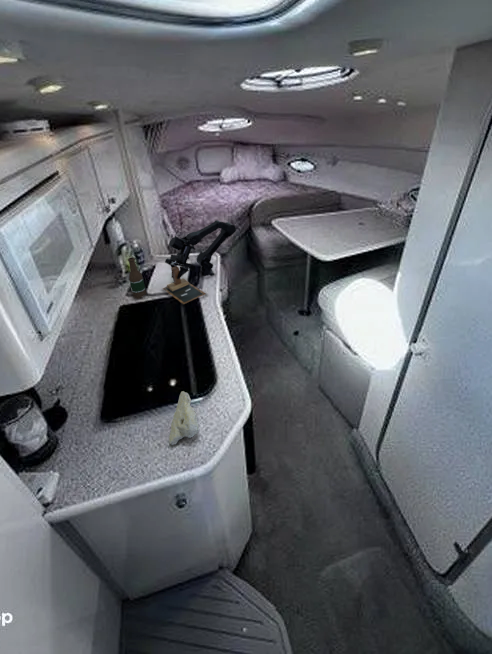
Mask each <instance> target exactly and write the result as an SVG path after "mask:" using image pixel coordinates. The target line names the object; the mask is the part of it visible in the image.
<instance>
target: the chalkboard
mask: <svg viewBox="0 0 492 654" xmlns="http://www.w3.org/2000/svg"><path fill="white" fill-rule="evenodd" d="M188 283H189V286H187V287H185V288H183V289H180V290H178V291H176V292H173V293H172V292H171V291H170V290H168V288H167V286H165V287H162V288H161V289H162V290H163V291H165V292H166V293H167V294H169V295H170V296H172V297H173V298H174V299H176V300H177V301H178V302H179V303H181V304H182V305H185V304H187V303H189V302H192V301H194V300H196V299H198V298H200V297H203V296H205V295H207V293H205V292H204V291H203V290H201V289H200V288H198V287H197V286H195V285H194V284H191V283H190V282H189V281H188ZM188 289H190V290H188ZM186 290H188V291H186ZM186 293H187V295H184V296H181V295H183V294H186Z"/></svg>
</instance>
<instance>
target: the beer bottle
mask: <svg viewBox="0 0 492 654" xmlns="http://www.w3.org/2000/svg"><path fill="white" fill-rule="evenodd" d="M127 262H128V265H129V270H130V271H129V273H128V280H129V286H130V288H131V293H132V296H133V298H134V299H136V300H141V299H143V297H145V295H147V290H146V285H145V282H144V277H143V273H142V272H141V271H140V270H139V269H138V267H137V264H136V259H135V257H129V258H127Z"/></svg>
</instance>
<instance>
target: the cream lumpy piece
mask: <svg viewBox="0 0 492 654" xmlns="http://www.w3.org/2000/svg"><path fill="white" fill-rule="evenodd" d="M191 403H192V399H191V397H190V394H189V393H188V392H185V391H184V390H183V391H181V392H180V394H179V397H178V402H177V405H176V408H175V412H174V413H173V418H172V420H171V424H170V432H169V436H168V442H169V445H171V446H173V445H176V444H177V443H178V442H179V441H180V440H181V439H183V438H185V437H186V438H189V439H191V438H193V437H194V436H196V435H197V434H198V433H199V429H200V427H199V422H198V416H197V415H198V414H197V413H196V412H195V411H196V410H195V408H194V407H192V406H191Z"/></svg>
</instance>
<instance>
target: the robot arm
mask: <svg viewBox="0 0 492 654" xmlns="http://www.w3.org/2000/svg"><path fill="white" fill-rule="evenodd" d="M219 229H220V232H219V234H218V235H217V236H216V237H215V239H214V240H213V241H212V242H211V244H210V245H209V246H208V247H207V249H206V250H205V251H199V253H198V254H197V255H196V259H195V261H196V263H197V264H198V265H199V266H201V267H200V273H201V276H202V277H208V276H210V277H212V276H214V275H215V273H214V272H213V267H214V264H213V263H212V262H211V261H212V257H213V256H214V255H215V253H216V251H217V250H218V249H219V248H220V247H221V245H222V244H223V243H224V242H225V241H226V239H227V238H229V237H231V236H232V235H234V234H235V233H236V231H237V228H236V225H234V224H233V223H231V222H229V221H220V220H218V219H217V220H214V221H213V222H212V223H210V224H208V225H206V226H205V227H203V228H201V229H199V230H197V231H192V232H189V233H187V234H186V235H185V236H183V237H181V238H180V237H179V236H177V235H174V237H172V238H171V239H170V240H169V242H168V246H169V247H170V248H172V249H174V250H176V251H179V252H177V253H176V254H170V258H169V257H168V258H166V259H165V261H164V263H165V264H167V265H169V266H170V269H171V268H173V267H175V266H177V267H179V274H178V277H177V279H179V278H182V277H183V276H184V275H185V274H186V273H187V272H190V271H191V272H195V271H196V266H195V265H193V263H190V262H188V260H190V254H191V253H192V251H195V250H196V248H195V246H197V245H198V244H199V243H200V242H201V241H202V240H203V239H204V238H205V237H207V236H209V235H211V234H212V233H214V232H215V231H217V230H219ZM171 278H172V279H173V276H172V275H171Z"/></svg>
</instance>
